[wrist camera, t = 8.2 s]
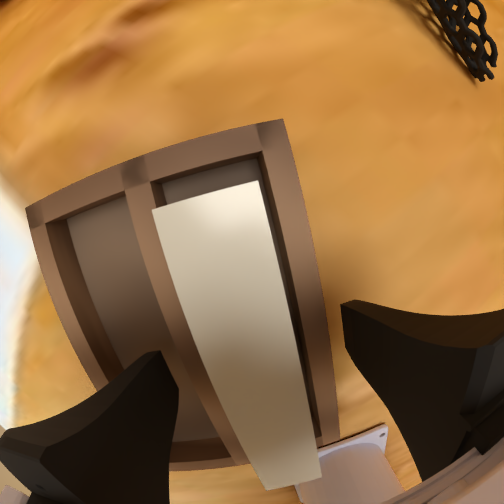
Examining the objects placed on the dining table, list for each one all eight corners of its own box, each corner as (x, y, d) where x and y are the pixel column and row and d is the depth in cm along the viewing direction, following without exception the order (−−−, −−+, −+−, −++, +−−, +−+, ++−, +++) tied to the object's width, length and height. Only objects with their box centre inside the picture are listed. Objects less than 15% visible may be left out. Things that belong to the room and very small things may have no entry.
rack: (326, 409, 15) (340, 439, 12) (164, 441, 15) (158, 471, 12) (270, 135, 12) (283, 118, 9) (58, 204, 11) (25, 208, 8)
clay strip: (299, 409, 13) (322, 477, 9) (255, 420, 13) (266, 490, 8) (245, 187, 11) (258, 180, 6) (185, 203, 11) (151, 209, 6)
